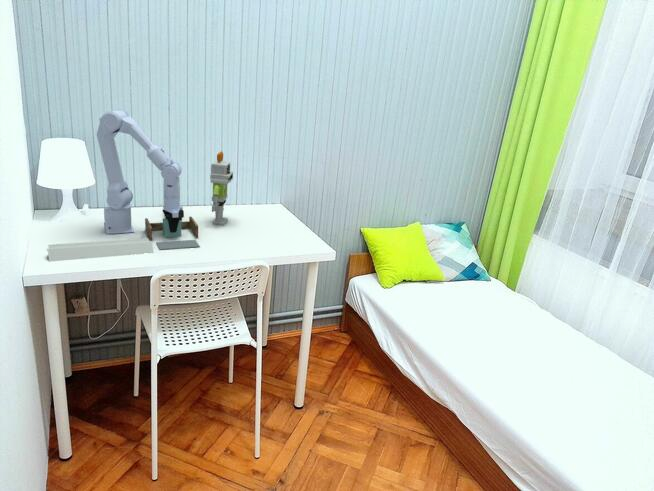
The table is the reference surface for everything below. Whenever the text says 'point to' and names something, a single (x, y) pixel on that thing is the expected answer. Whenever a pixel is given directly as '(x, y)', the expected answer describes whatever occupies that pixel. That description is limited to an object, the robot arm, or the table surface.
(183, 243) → the mat
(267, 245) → the table surface
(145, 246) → the crown molding
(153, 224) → the frame
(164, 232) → the block
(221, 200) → the toy
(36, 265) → the table surface
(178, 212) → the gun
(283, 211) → the table surface
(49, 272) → the table surface
